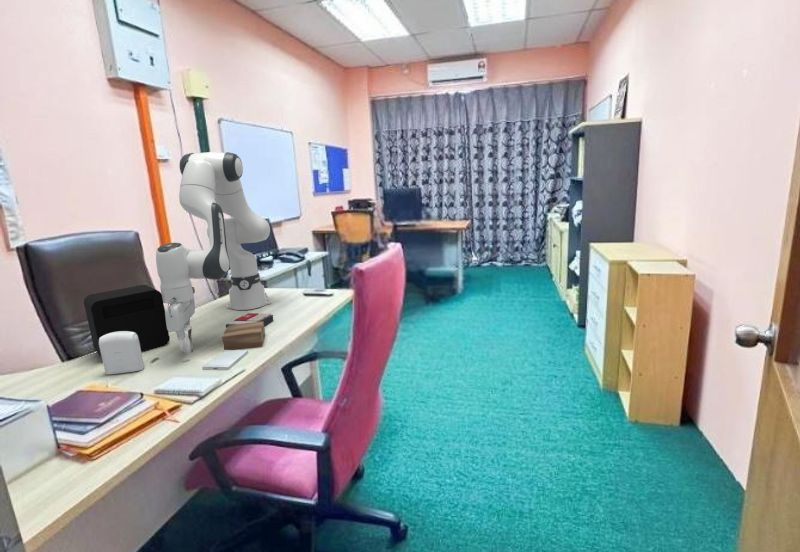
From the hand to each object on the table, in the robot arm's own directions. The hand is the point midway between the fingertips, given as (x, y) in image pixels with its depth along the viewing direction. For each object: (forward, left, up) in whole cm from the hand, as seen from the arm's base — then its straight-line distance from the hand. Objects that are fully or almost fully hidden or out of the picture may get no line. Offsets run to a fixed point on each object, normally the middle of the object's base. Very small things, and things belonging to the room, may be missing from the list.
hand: (184, 335), depth 140 cm
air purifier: (-11, -20, -6) cm, 23 cm away
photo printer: (+10, -15, -6) cm, 19 cm away
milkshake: (0, 0, -6) cm, 6 cm away
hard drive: (+13, +14, -6) cm, 20 cm away
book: (-19, +18, -6) cm, 27 cm away
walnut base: (-2, +18, -6) cm, 19 cm away
